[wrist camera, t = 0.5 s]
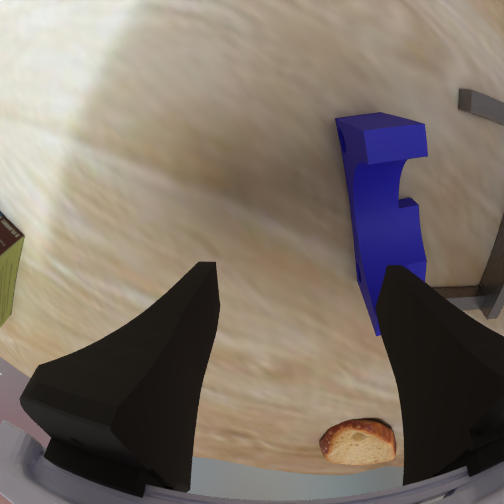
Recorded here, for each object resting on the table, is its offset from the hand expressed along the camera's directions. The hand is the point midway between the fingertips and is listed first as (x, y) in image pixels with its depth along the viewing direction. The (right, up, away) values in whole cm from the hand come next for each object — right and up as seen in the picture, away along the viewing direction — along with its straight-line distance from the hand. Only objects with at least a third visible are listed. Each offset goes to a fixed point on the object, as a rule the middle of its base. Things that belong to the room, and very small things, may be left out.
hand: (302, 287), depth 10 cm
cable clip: (+7, +5, +8) cm, 12 cm away
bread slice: (+17, -29, +27) cm, 43 cm away
